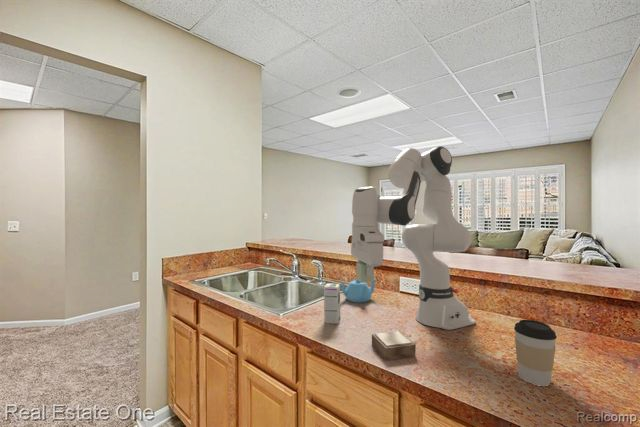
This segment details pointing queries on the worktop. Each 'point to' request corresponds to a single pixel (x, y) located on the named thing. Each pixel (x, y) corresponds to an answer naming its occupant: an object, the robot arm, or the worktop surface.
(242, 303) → the worktop surface
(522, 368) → the coffee cup
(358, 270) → the sage block
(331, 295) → the syrup box
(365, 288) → the teapot
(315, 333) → the worktop surface
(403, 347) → the plinth
